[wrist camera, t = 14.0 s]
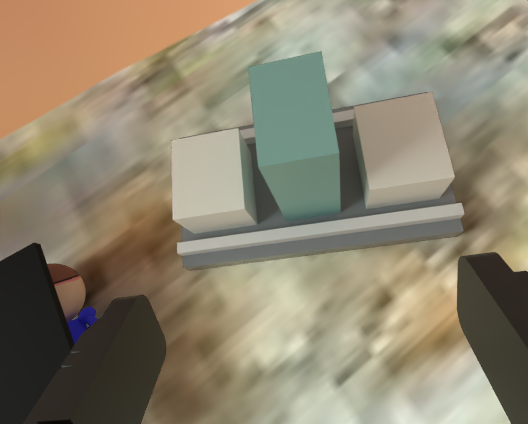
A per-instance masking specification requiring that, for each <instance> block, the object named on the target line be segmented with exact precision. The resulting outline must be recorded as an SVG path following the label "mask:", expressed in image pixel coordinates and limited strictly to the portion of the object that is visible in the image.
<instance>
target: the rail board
mask: <svg viewBox="0 0 528 424" xmlns="http://www.w3.org/2000/svg"><path fill="white" fill-rule="evenodd" d="M425 93H427V92H425ZM420 94H424V93H420ZM415 95H419V94H415ZM409 96H413V95H409ZM404 97H408V96H404ZM398 98H403V97H398ZM393 99H397V98H393ZM388 100H392V99H388ZM382 101H387V100H382ZM377 102H381V101H377ZM372 103H376V102H372ZM366 104H370V103H366ZM361 105H365V104H361ZM355 106H360V105H355ZM332 115H333V120H334V126H335V132H336V137H337V143H338V149H339V162H340V203H341V213H336V214H330V215H323V216H316V217H310V218H303V219H297V220H290V221H286V219H285V218H284V216H283V214H282V212H281V210H280V208H279V206H278V204H277V202H276V200H275V198H274V196H273V195H272V193H271V191H270V189H269V187H268V185H267V183H266V181H265V179H264V177H263V175H262V173H261V172H260V170H259V168H258V160H257V150H256V141H255V131H254V124H253V125H248V126H243V127H237V128H238V129H239V130H240V132H241V134H242V136H243V138H244V140H245V142H246V144H247V146H248V148H249V150H250V152H251V157H252V168H253V179H254V191H255V202H256V213H257V224H258V225H252V226H245V227H238V228H231V229H225V230H218V231H211V232H204V233H197V234H194V233H192V232H191V231H189V230H188V229H186V228H185V227H183V226H182V242H180V243H177V254H180V255H182V256H183V268H185V269H188V270H190V271H191V270H198V269H206V268H214V267H222V266H230V265H237V264H245V263H253V262H261V261H269V260H276V259H284V258H292V257H300V256H308V255H315V254H323V253H331V252H339V251H347V250H354V249H362V248H370V247H378V246H386V245H393V244H401V243H409V242H417V241H425V240H432V239H440V238H448V237H456V236H458V235H460V234H461V233H462V232H463V231H464V230H463V227H462V223H461V219H460V218H461V217H462V216H463V215H464V210H463V206H462V203H456V200H455V196H454V192H453V188H452V185H451V183H450V185H449V186H448V187H447V189H446V190H445V192H444V193H443V194H442V196H441V197H440V198H439V199H433V200H426V201H419V202H412V203H405V204H398V205H391V206H384V207H377V208H371V209H366V205H365V199H364V194H363V188H362V183H361V178H360V172H359V167H358V161H357V156H356V150H355V145H354V139H353V118H354V106H350V107H345V108H339V109H334V110H332ZM232 129H236V128H232ZM227 130H231V129H227ZM221 131H225V130H221ZM216 132H220V131H216ZM211 133H214V132H211ZM205 134H209V133H205ZM200 135H204V134H200ZM194 136H198V135H194ZM189 137H193V136H189ZM184 138H188V137H184ZM180 139H182V138H180Z"/></svg>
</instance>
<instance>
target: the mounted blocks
mask: <svg viewBox="0 0 528 424" xmlns="http://www.w3.org/2000/svg"><path fill="white" fill-rule="evenodd" d="M353 139H354V145H355V150H356V156H357V161H358V167H359V172H360V178H361V183H362V188H363V194H364V199H365V205H366V209H371V208H377V207H384V206H391V205H398V204H405V203H412V202H419V201H426V200H433V199H439V198H440V197H441V196H442V194H443V193H444V192H445V190H446V189H447V187H448V186H449V185H450V183H451V182H452V181H453V179H454V178H455V175H454V171H453V168H452V164H451V160H450V156H449V153H448V149H447V145H446V141H445V138H444V134H443V130H442V126H441V123H440V119H439V115H438V111H437V108H436V104H435V100H434V96H433V93H432V92H430V93H424V94H419V95H413V96H408V97H403V98H397V99H392V100H387V101H381V102H376V103H370V104H365V105H360V106H354V118H353ZM171 155H172V211H173V220H174V221H175V222H177V223H178V224H180V225H181V226H183V227H185V228H186V229H188V230H189V231H191V232H192V233H194V234H197V233H204V232H211V231H218V230H225V229H231V228H238V227H245V226H252V225H258V224H257V213H256V202H255V191H254V179H253V168H252V157H251V152H250V150H249V148H248V146H247V144H246V142H245V140H244V138H243V136H242V134H241V132H240V130H239V129H238V128H236V129H231V130H225V131H220V132H214V133H209V134H204V135H198V136H193V137H188V138H182V139H177V140H171Z"/></svg>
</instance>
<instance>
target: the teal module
mask: <svg viewBox="0 0 528 424" xmlns="http://www.w3.org/2000/svg"><path fill="white" fill-rule="evenodd" d="M248 72H249V82H250V91H251V101H252V111H253V121H254V131H255V141H256V150H257V160H258V168H259V170H260V172H261V173H262V175H263V177H264V179H265V181H266V183H267V185H268V187H269V189H270V191H271V193H272V195H273V196H274V198H275V200H276V202H277V204H278V206H279V208H280V210H281V212H282V214H283V216H284V218H285V219H286V221H290V220H297V219H303V218H310V217H316V216H323V215H330V214H336V213H341V203H340V162H339V149H338V143H337V137H336V132H335V126H334V120H333V115H332V109H331V103H330V98H329V92H328V86H327V81H326V75H325V69H324V64H323V58H322V52H321V51H320V52H316V53H311V54H307V55H302V56H297V57H293V58H288V59H283V60H279V61H274V62H270V63H265V64H260V65H256V66H251V67H248Z"/></svg>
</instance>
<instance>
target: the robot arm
mask: <svg viewBox="0 0 528 424" xmlns="http://www.w3.org/2000/svg"><path fill="white" fill-rule="evenodd" d="M457 312H458V318H459V322H460V325H461V328H462V330H463V332H464V334H465V336H466V338H467V340H468V342H469V344H470V346H471V348H472V350H473V352H474V354H475V355H476V357H477V359H478V361H479V363H480V365H481V367H482V369H483V371H484V373H485V375H486V376H487V378H488V380H489V382H490V384H491V386H492V388H493V390H494V392H495V394H496V396H497V397H498V399H499V401H500V403H501V405H502V407H503V409H504V411H505V413H506V415H507V416H508V418H509V420H510V422H511V424H528V272H527V271H520V272H513V271H512V270H511V268H510V267H509V266H508V265H507V264H506V262H505V261H504V260H503V259H502V258H501V257H500V255H499V254H497V253H495V252H491V253H483V254H475V255H467V256H461V257H460V258H459V260H458V280H457ZM70 352H71V353H70V355H68V356H67V357H66V359H65V360H64V362H63V363H62V365H61V369H58V371H57V372H56V374H55V375H54V377H53V378H52V380H51V381H50V383H49V384H48V386H47V388H46V389H45V391H44V392H43V394H42V395H41V397H40V398H39V400H38V401H37V403H36V404H35V406H34V407H33V409H32V410H31V412H30V413H29V415H28V416H27V418H26V419H25V421H24V423H23V424H141V421H142V418H143V416H144V413H145V410H146V408H147V405H148V402H149V400H150V397H151V394H152V391H153V389H154V386H155V383H156V381H157V378H158V375H159V373H160V370H161V367H162V365H163V362H164V359H165V354H166V342H165V337H164V335H163V332H162V330H161V328H160V325H159V323H158V321H157V318H156V316H155V314H154V312H153V309H152V307H151V305H150V302H149V300H148V299H147V297H146V296H144V295H138V296H130V297H122V298H116V299H114V300H113V301H112V302H111V304H110V305H109V307H108V309H107V310H106V312H105V313H104V315H103V317H102V318H101V319H98V320H97V321H95V322H94V323H93V324H92V325H91V326H90V327H89V328H88V329H87V330H86V331H85V332H84V333H82V334H81V336H80V337H79V339H78V340H77V342H76V343H75V345H74V346H73V348H72V349H71V351H70Z"/></svg>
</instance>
